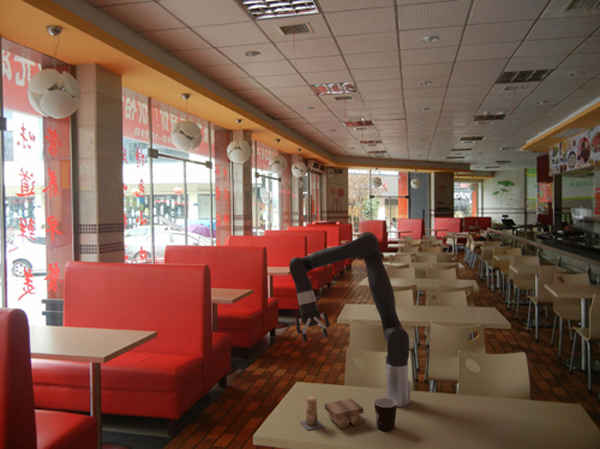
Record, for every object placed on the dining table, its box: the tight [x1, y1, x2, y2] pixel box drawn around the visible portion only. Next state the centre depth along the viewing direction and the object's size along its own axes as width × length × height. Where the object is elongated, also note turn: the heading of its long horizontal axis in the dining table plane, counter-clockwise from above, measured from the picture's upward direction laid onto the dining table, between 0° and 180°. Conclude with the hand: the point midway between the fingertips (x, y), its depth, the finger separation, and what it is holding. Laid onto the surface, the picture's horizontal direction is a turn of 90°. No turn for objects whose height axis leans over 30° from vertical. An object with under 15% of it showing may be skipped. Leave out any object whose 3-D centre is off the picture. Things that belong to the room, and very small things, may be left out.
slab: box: [324, 398, 364, 430], centre depth 184 cm, size 12×10×6 cm
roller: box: [304, 396, 318, 426], centre depth 182 cm, size 4×4×10 cm
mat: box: [300, 418, 325, 431], centre depth 182 cm, size 7×7×1 cm
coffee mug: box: [373, 397, 398, 433], centre depth 180 cm, size 12×9×10 cm
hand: (316, 340), depth 198 cm, fingers open, 8 cm apart
